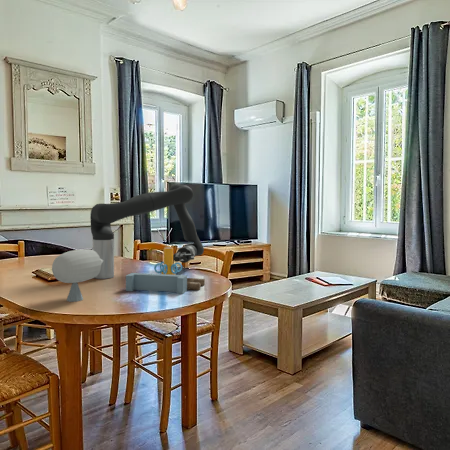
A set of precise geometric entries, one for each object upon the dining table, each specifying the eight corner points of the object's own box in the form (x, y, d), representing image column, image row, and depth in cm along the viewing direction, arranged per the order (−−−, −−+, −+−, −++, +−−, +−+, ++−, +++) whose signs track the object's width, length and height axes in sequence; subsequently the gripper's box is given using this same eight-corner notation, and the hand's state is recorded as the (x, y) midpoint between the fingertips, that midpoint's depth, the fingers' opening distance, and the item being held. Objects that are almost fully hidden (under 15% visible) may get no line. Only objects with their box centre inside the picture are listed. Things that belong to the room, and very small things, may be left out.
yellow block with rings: (175, 286, 166) (175, 250, 165) (151, 285, 168) (151, 249, 167) (184, 280, 178) (184, 246, 177) (161, 279, 180) (162, 245, 179)
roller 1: (184, 278, 168) (186, 277, 171) (184, 285, 169) (186, 284, 172) (203, 279, 167) (204, 278, 170) (203, 286, 167) (204, 285, 170)
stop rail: (125, 290, 157) (125, 275, 156) (131, 287, 163) (131, 272, 162) (182, 294, 153) (183, 278, 153) (186, 290, 159) (187, 275, 159)
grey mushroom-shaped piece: (115, 299, 143) (115, 250, 142) (55, 306, 132) (55, 253, 131) (103, 291, 156) (102, 246, 155) (47, 297, 145) (46, 248, 144)
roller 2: (179, 290, 160) (179, 282, 160) (181, 288, 163) (181, 281, 163) (198, 291, 159) (199, 283, 159) (200, 289, 162) (200, 282, 162)
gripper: (173, 246, 201) (162, 250, 184) (198, 246, 199) (190, 251, 182) (173, 260, 202) (162, 267, 185) (198, 261, 200) (190, 267, 183)
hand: (176, 259), depth 184 cm, fingers closed
